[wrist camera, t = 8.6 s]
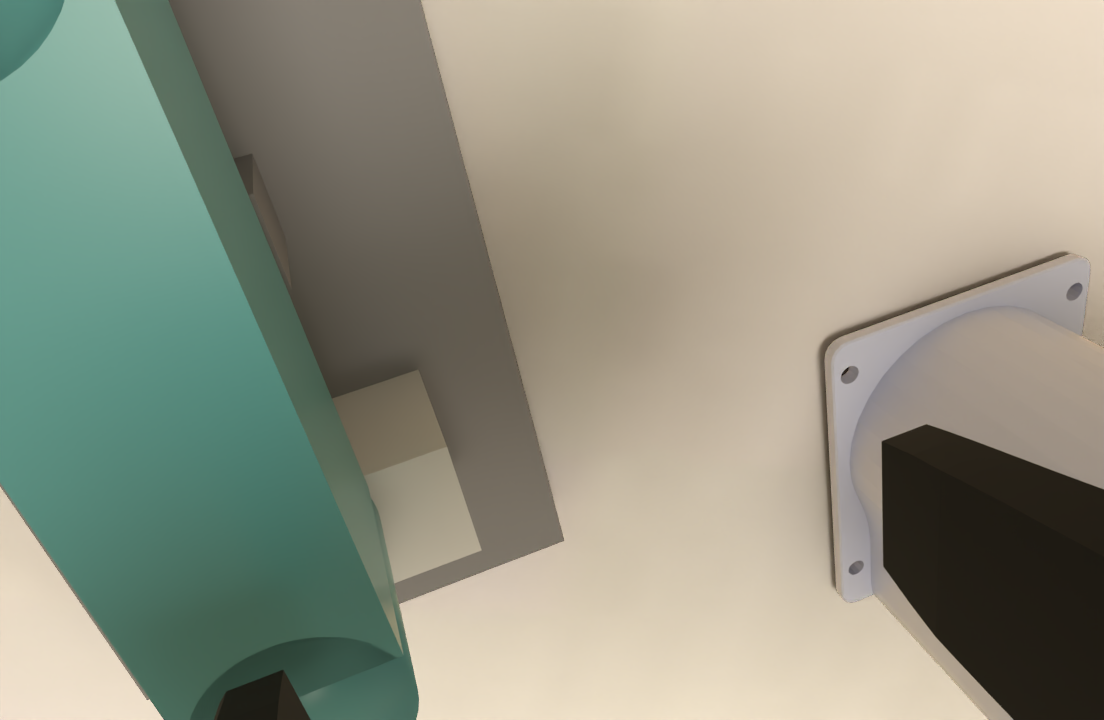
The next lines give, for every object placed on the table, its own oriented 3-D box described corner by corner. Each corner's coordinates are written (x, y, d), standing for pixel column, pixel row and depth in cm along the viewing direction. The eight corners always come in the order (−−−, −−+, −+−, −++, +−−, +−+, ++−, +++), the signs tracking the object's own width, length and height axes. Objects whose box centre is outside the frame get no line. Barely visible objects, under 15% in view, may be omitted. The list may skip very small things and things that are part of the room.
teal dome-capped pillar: (402, 569, 16) (444, 746, 13) (242, 630, 16) (241, 830, 12) (53, -280, 9) (-56, -385, 6) (-243, -220, 9) (-540, -299, 6)
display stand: (546, 504, 22) (608, 627, 18) (153, 651, 21) (131, 819, 17) (251, -578, 12) (252, -803, 8) (-568, -455, 10) (-1036, -664, 7)
